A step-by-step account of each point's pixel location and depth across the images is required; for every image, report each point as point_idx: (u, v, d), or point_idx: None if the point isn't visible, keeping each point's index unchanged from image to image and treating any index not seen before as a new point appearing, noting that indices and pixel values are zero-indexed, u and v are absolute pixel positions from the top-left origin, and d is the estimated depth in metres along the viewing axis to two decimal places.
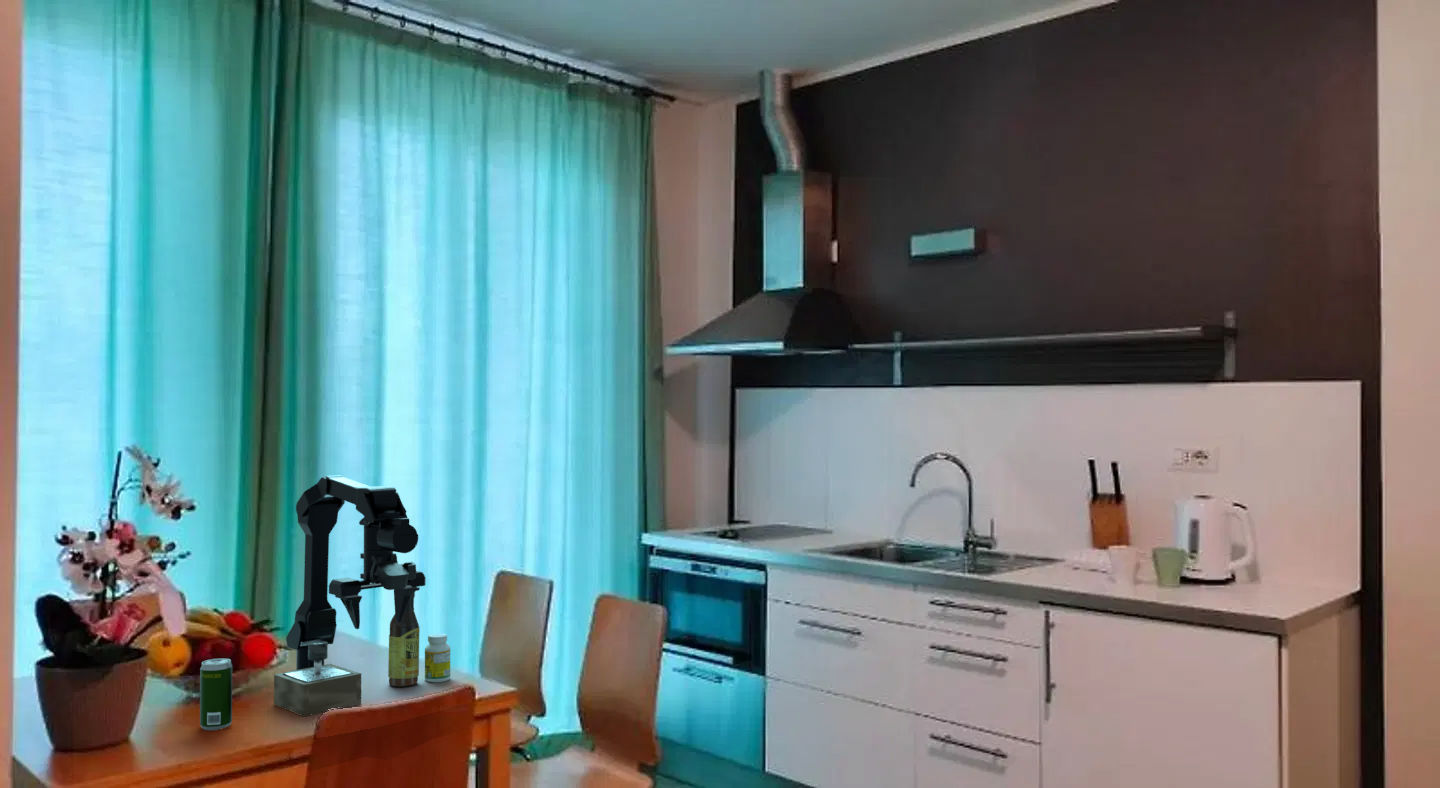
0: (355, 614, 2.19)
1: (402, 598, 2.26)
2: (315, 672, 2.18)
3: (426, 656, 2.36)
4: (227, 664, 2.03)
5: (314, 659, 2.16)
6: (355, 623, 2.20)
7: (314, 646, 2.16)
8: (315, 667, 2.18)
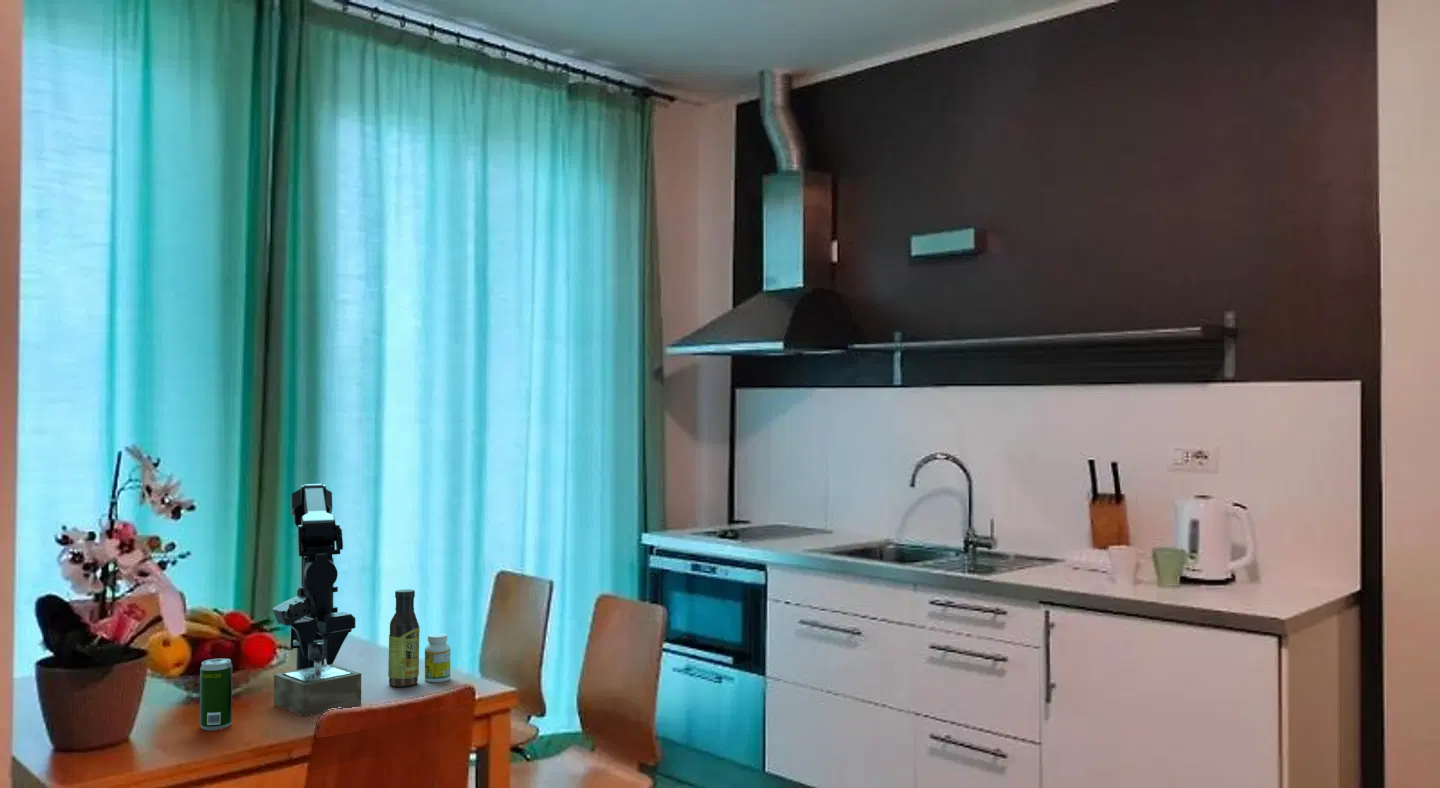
0: (299, 641, 2.21)
1: None
2: (315, 672, 2.18)
3: (426, 656, 2.36)
4: (227, 664, 2.03)
5: (314, 659, 2.16)
6: None
7: (314, 646, 2.16)
8: (315, 667, 2.18)
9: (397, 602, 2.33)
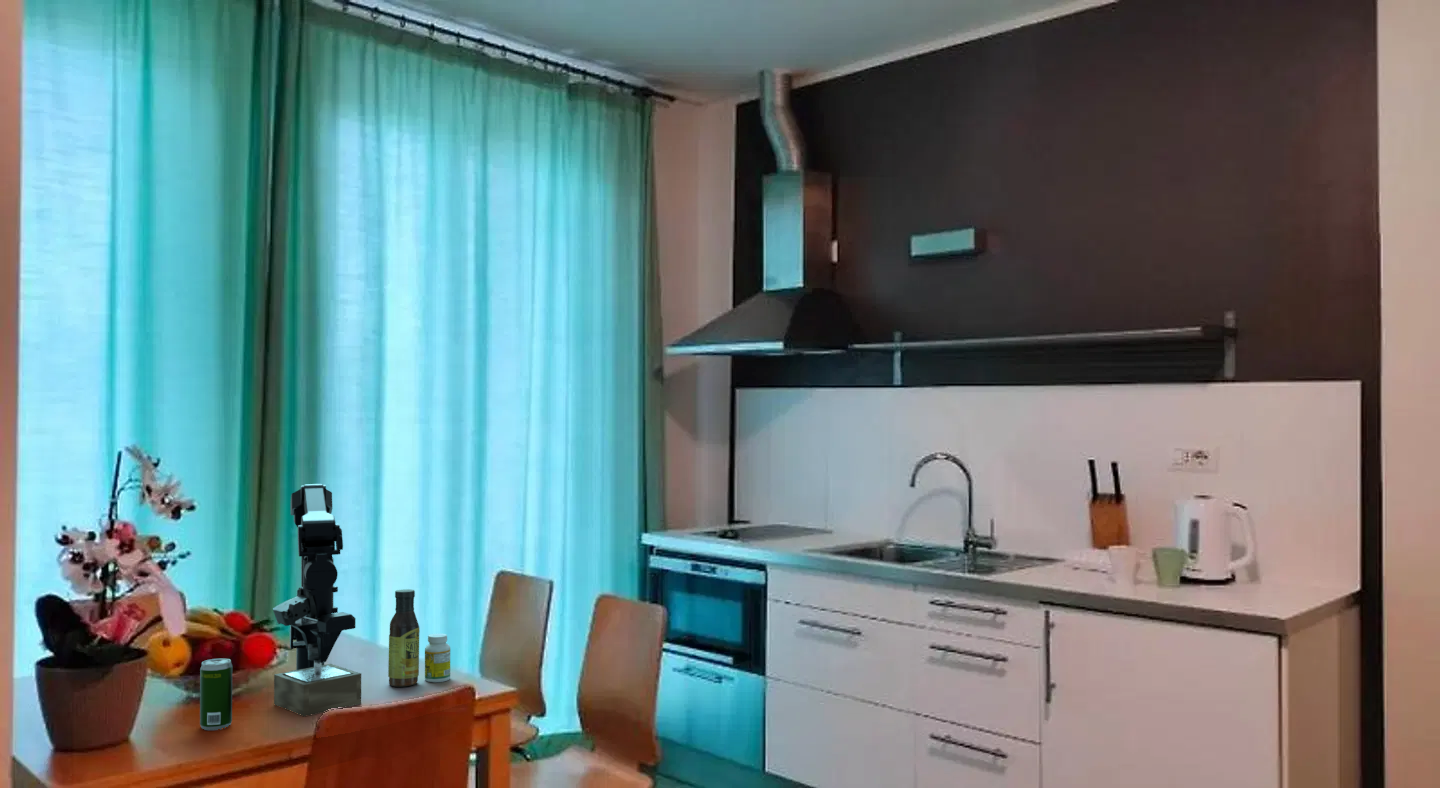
0: (305, 643, 2.19)
1: None
2: (315, 672, 2.18)
3: (426, 656, 2.36)
4: (227, 664, 2.03)
5: (314, 659, 2.16)
6: None
7: (314, 646, 2.16)
8: (315, 667, 2.18)
9: (397, 602, 2.33)
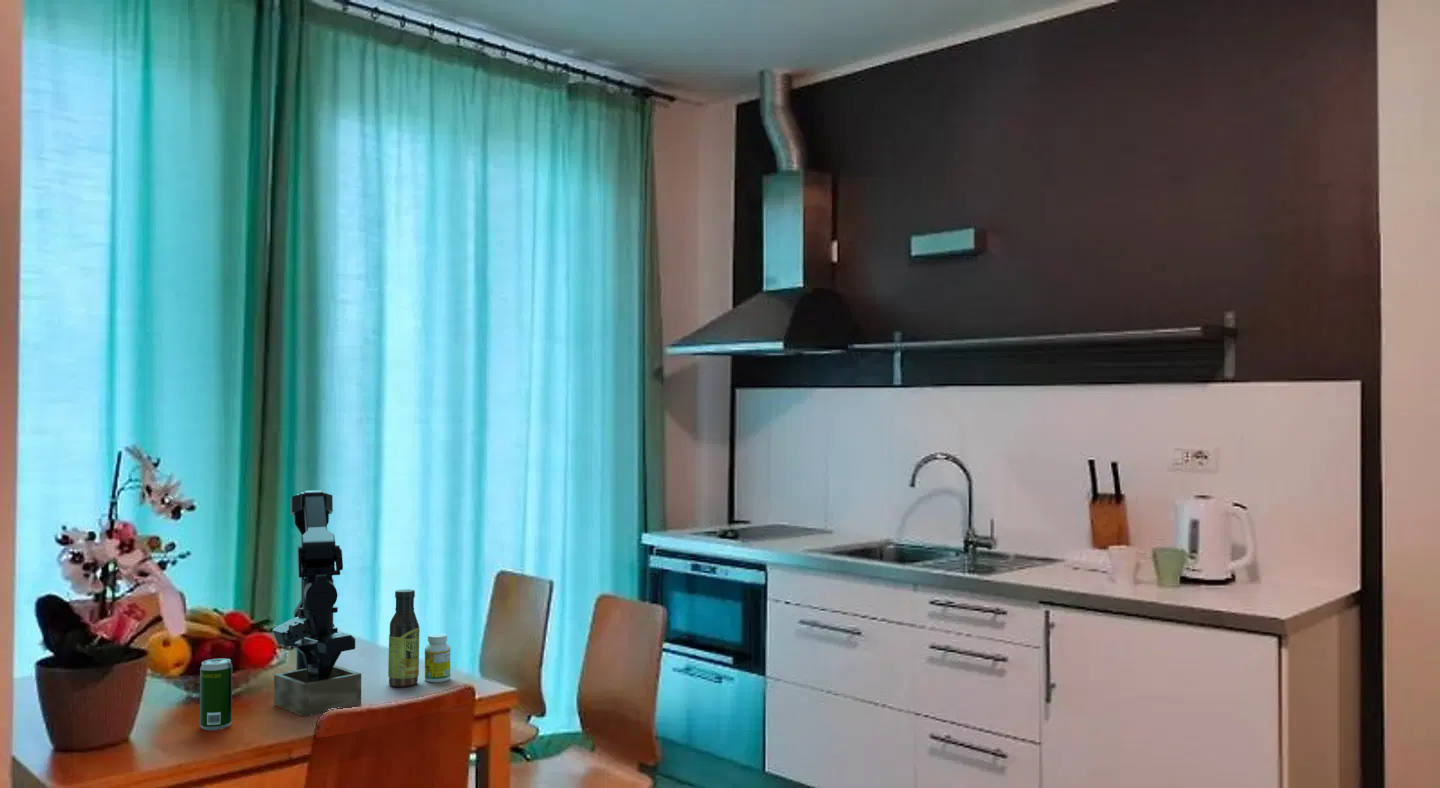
0: (305, 664, 2.19)
1: None
2: None
3: (426, 656, 2.36)
4: (227, 664, 2.03)
5: (314, 680, 2.16)
6: None
7: (314, 667, 2.16)
8: None
9: (397, 602, 2.33)
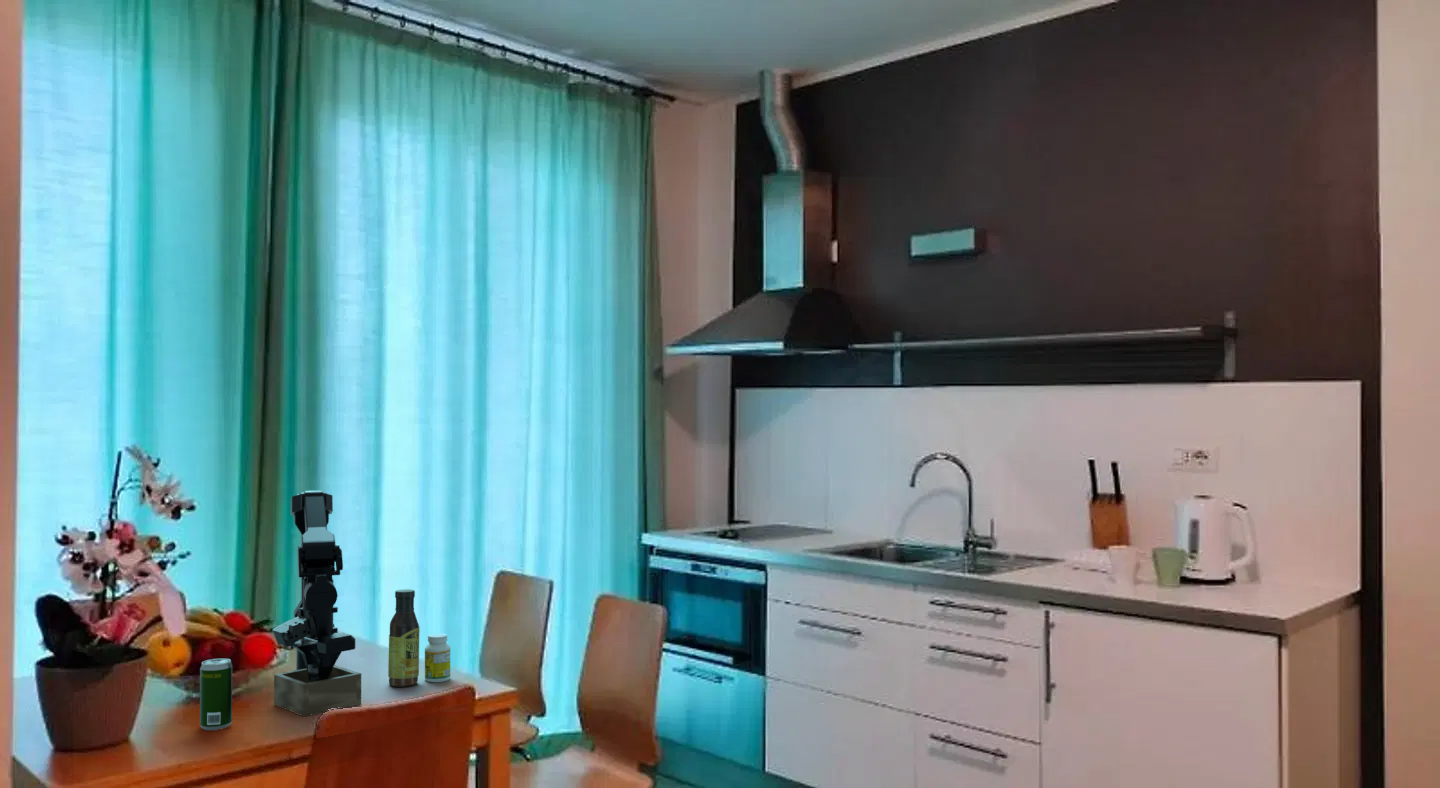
0: (305, 664, 2.19)
1: None
2: None
3: (426, 656, 2.36)
4: (227, 664, 2.03)
5: (314, 680, 2.16)
6: None
7: (314, 667, 2.16)
8: None
9: (397, 602, 2.33)
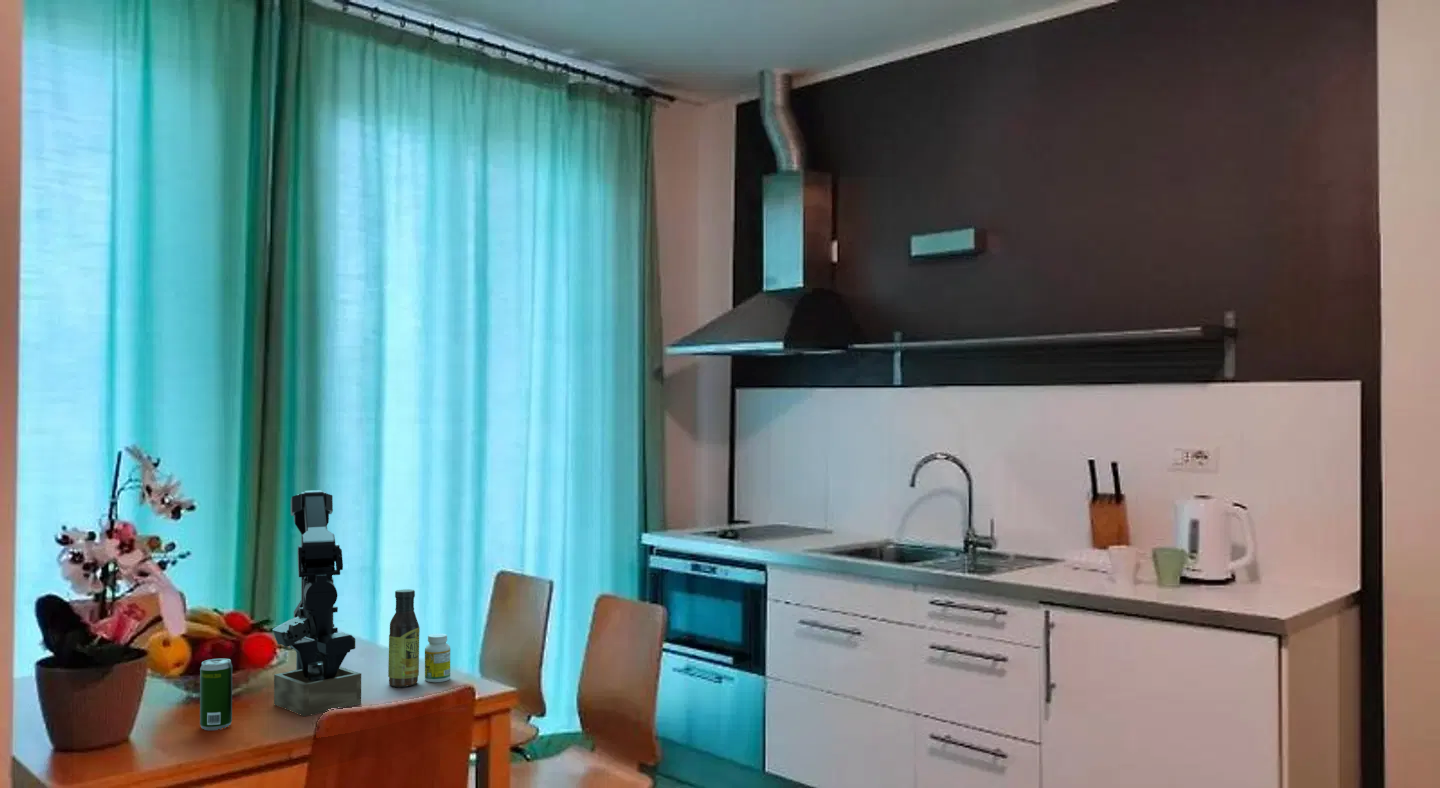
0: (300, 662, 2.21)
1: None
2: None
3: (426, 656, 2.36)
4: (227, 664, 2.03)
5: (314, 680, 2.16)
6: None
7: (314, 667, 2.16)
8: None
9: (397, 602, 2.33)
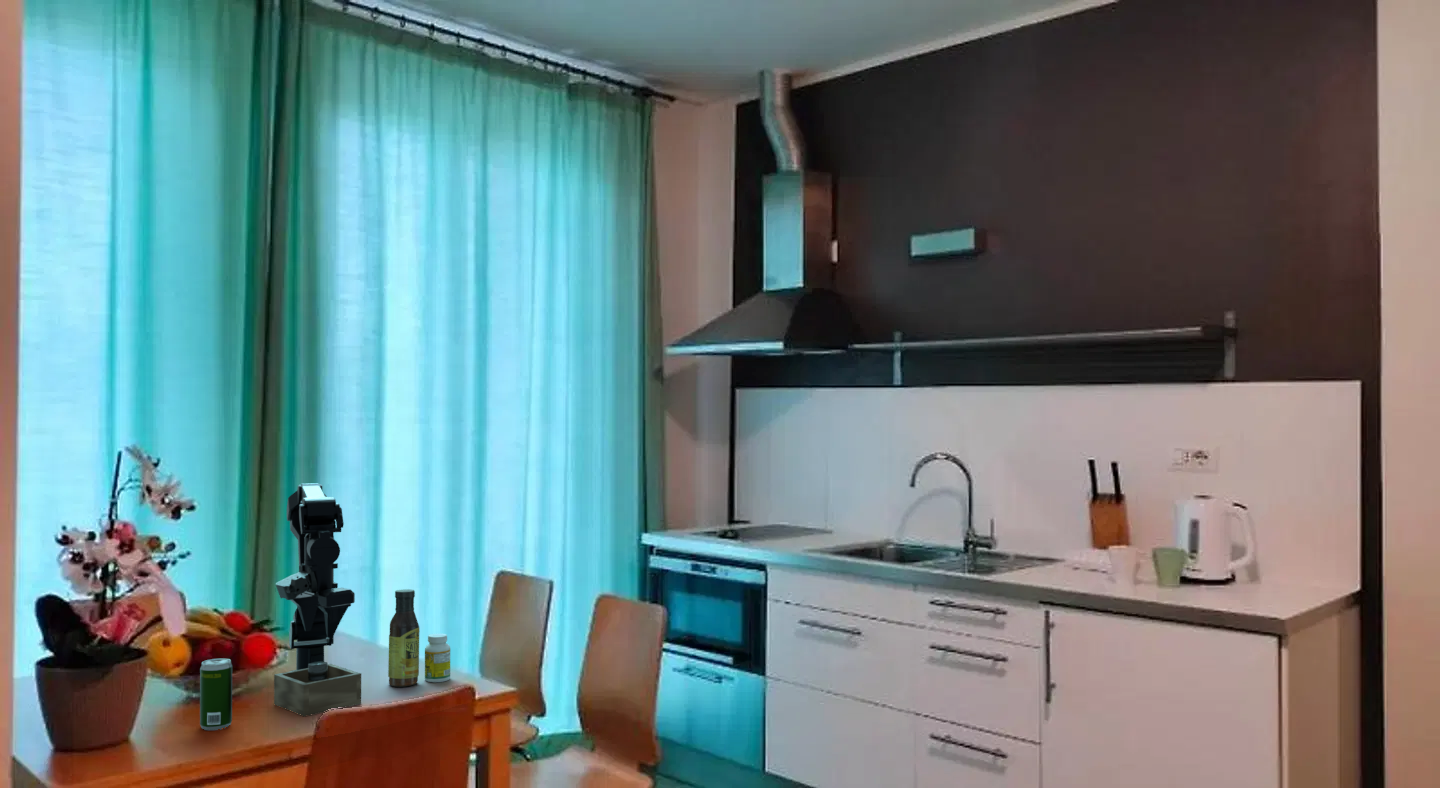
0: (300, 615, 2.31)
1: None
2: None
3: (426, 656, 2.36)
4: (227, 664, 2.03)
5: (314, 680, 2.16)
6: None
7: (314, 667, 2.16)
8: None
9: (397, 602, 2.33)
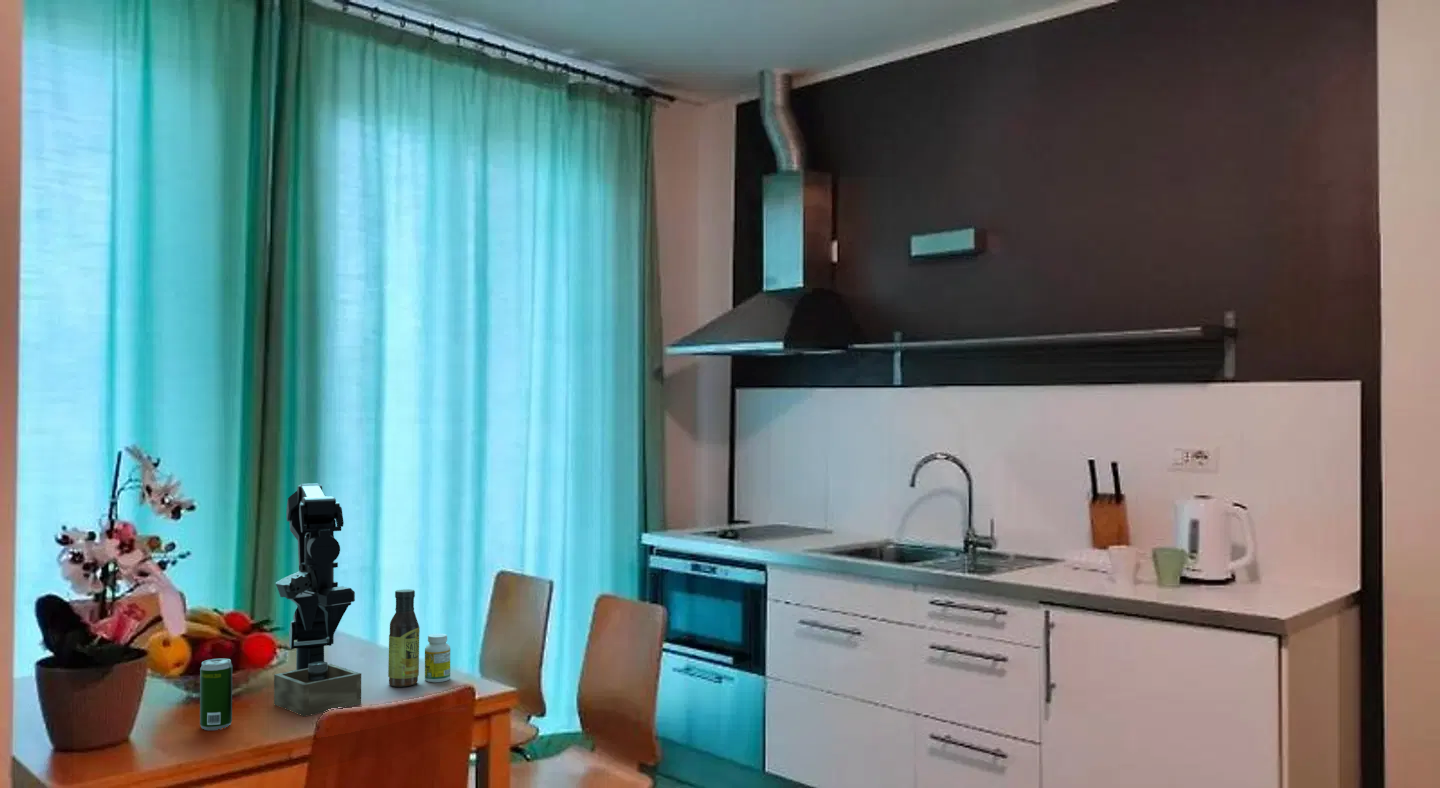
0: (300, 615, 2.31)
1: None
2: None
3: (426, 656, 2.36)
4: (227, 664, 2.03)
5: (314, 680, 2.16)
6: None
7: (314, 667, 2.16)
8: None
9: (397, 602, 2.33)
